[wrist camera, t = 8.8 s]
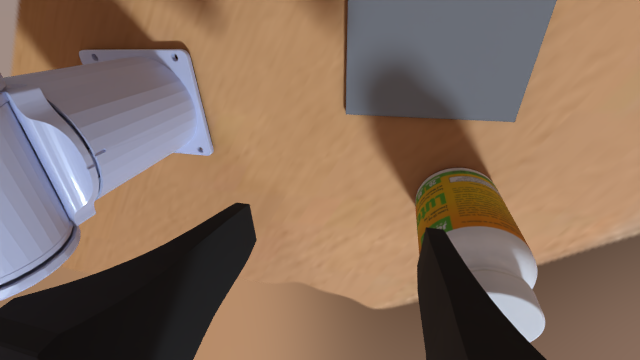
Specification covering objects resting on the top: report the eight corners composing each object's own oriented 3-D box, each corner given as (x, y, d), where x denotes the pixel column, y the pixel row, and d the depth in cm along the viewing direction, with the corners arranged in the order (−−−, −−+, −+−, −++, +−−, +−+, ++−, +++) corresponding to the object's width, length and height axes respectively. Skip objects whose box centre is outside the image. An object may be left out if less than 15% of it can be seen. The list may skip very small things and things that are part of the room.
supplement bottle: (428, 157, 19) (450, 264, 11) (511, 175, 18) (601, 304, 10) (405, 217, 22) (409, 336, 14) (476, 234, 21) (524, 371, 13)
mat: (346, 112, 19) (345, 114, 18) (350, -88, 14) (349, -90, 13) (512, 119, 16) (514, 121, 16) (592, -116, 11) (598, -120, 11)
